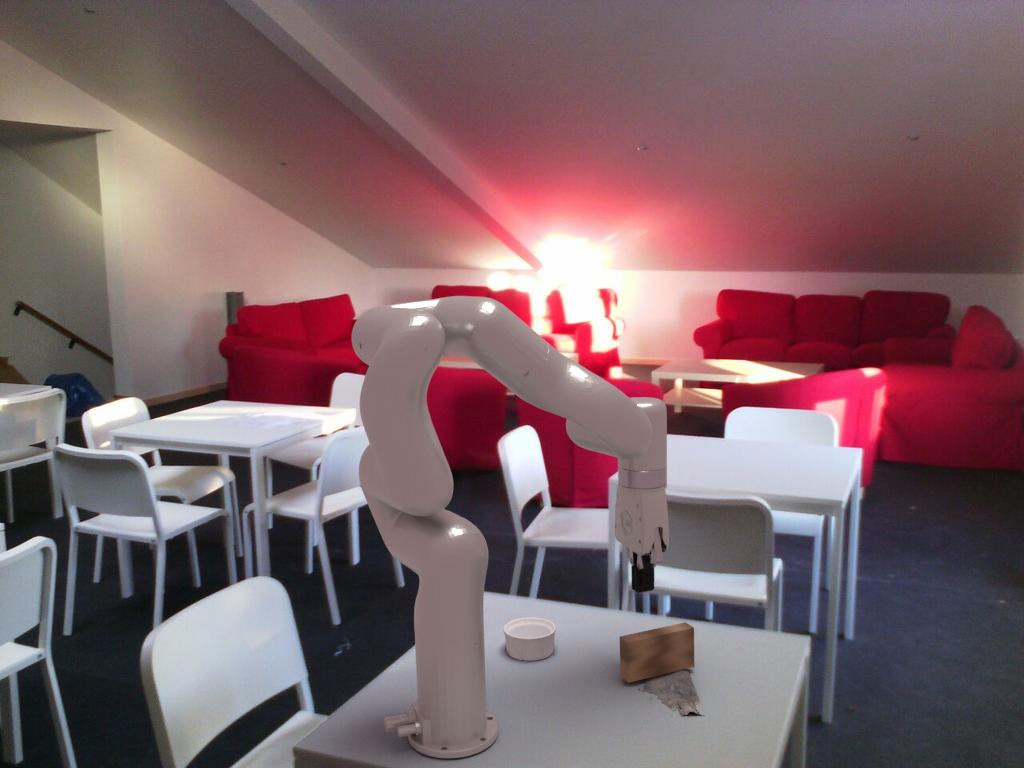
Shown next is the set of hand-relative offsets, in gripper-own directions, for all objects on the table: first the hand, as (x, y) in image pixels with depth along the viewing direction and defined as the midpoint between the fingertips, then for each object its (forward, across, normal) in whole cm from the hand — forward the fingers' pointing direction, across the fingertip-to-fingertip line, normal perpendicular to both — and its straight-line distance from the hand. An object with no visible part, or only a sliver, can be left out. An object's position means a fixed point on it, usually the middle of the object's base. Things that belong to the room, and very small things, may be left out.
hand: (642, 589), depth 139 cm
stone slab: (+14, +6, 0) cm, 15 cm away
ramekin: (+13, -13, -14) cm, 24 cm away
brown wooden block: (+12, +3, +1) cm, 13 cm away
